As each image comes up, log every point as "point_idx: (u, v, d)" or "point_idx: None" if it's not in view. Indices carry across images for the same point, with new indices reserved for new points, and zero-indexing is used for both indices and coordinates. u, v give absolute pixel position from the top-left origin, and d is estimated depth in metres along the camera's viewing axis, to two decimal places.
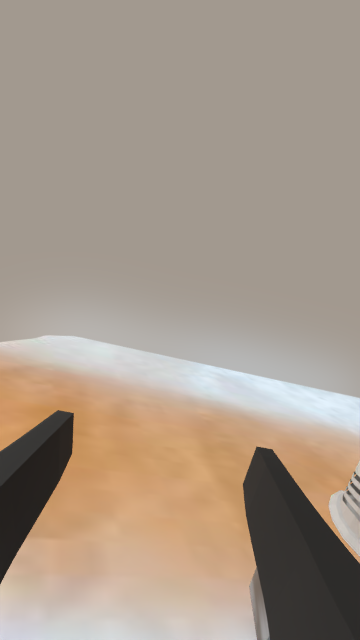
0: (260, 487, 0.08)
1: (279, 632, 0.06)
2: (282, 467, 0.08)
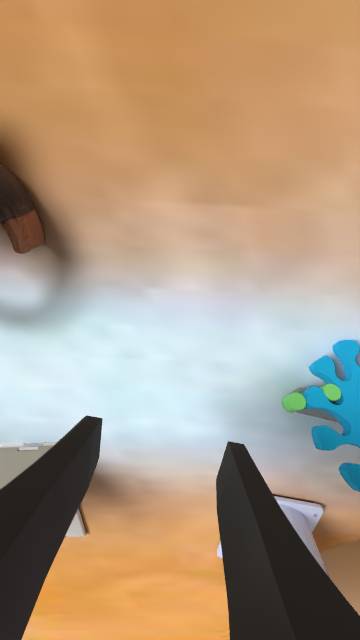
0: (228, 481, 0.08)
1: (236, 624, 0.06)
2: (250, 461, 0.08)
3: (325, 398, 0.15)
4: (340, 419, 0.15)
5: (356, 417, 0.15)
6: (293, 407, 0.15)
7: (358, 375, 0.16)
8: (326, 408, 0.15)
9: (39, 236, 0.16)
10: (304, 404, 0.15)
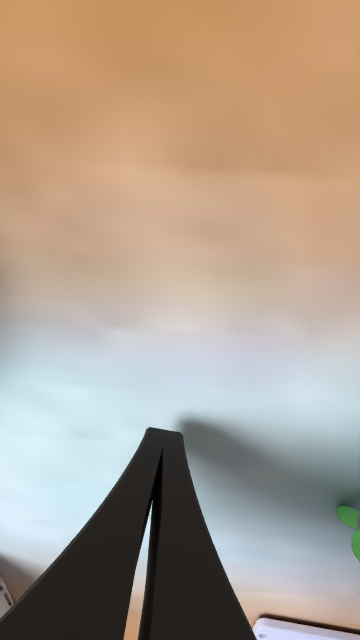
0: (159, 469, 0.08)
1: (143, 608, 0.06)
2: (180, 448, 0.08)
3: None
4: None
5: None
6: None
7: None
8: None
9: None
10: None
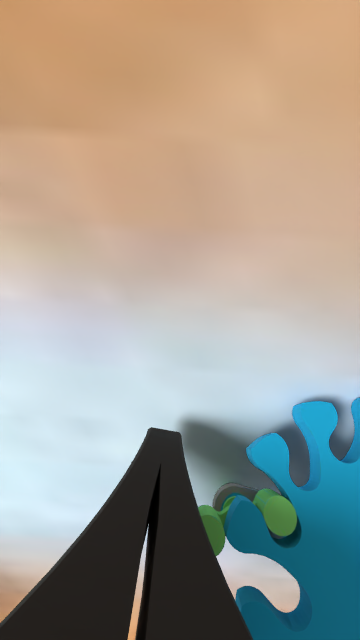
0: None
1: (140, 607, 0.06)
2: (178, 448, 0.08)
3: (265, 531, 0.08)
4: None
5: (324, 582, 0.07)
6: None
7: (332, 479, 0.08)
8: (265, 554, 0.07)
9: None
10: (221, 544, 0.07)
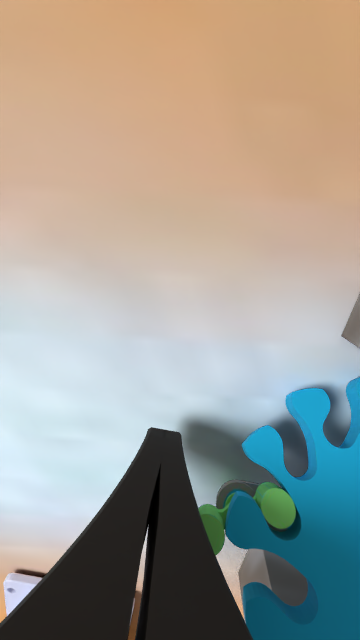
0: None
1: (140, 607, 0.06)
2: (178, 448, 0.08)
3: (264, 524, 0.07)
4: None
5: (328, 571, 0.07)
6: None
7: (329, 466, 0.08)
8: (266, 548, 0.07)
9: None
10: (221, 542, 0.07)
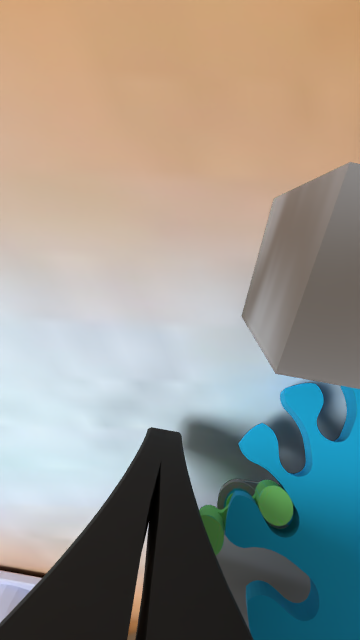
0: None
1: (141, 607, 0.06)
2: (178, 448, 0.08)
3: (262, 523, 0.07)
4: None
5: (328, 566, 0.07)
6: None
7: (325, 460, 0.08)
8: (266, 546, 0.07)
9: None
10: (220, 542, 0.07)
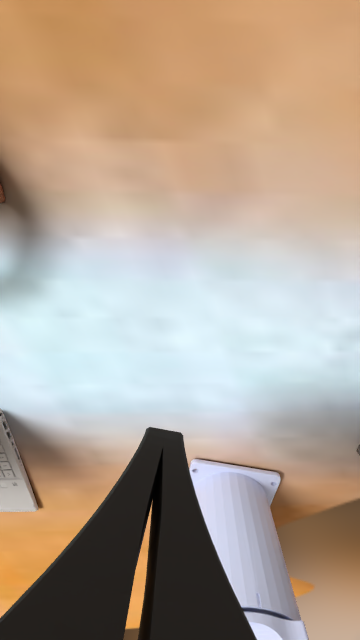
0: (159, 469, 0.08)
1: (143, 608, 0.06)
2: (180, 448, 0.08)
3: None
4: None
5: None
6: None
7: None
8: None
9: None
10: None
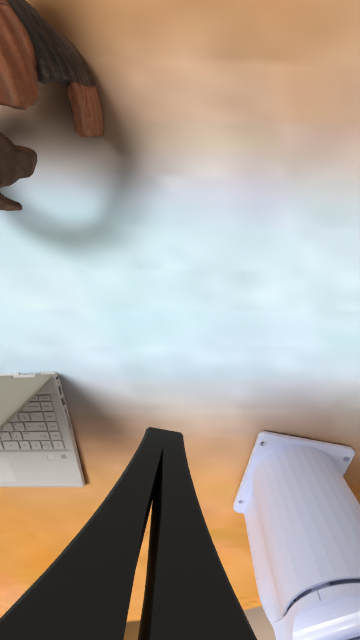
0: (159, 469, 0.08)
1: (143, 608, 0.06)
2: (180, 448, 0.08)
3: None
4: None
5: None
6: None
7: None
8: None
9: (99, 122, 0.14)
10: None
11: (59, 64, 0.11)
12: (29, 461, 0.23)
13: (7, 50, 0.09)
